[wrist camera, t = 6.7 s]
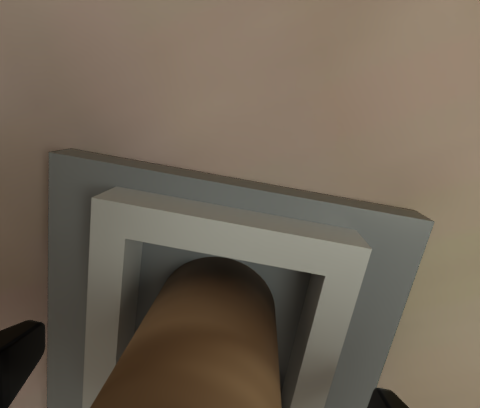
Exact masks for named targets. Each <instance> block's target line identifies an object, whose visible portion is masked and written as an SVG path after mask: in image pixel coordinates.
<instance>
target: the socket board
mask: <svg viewBox="0 0 480 408" xmlns="http://www.w3.org/2000/svg"><path fill="white" fill-rule="evenodd" d="M433 224H434V221H432V220H431V219H429V218H427V217H426V216H424V215H422V214H421V213H419V212H417V211H415V210H409V209H404V208H398V207H393V206H387V205H381V204H376V203H370V202H365V201H359V200H354V199H348V198H343V197H337V196H331V195H326V194H320V193H315V192H309V191H304V190H298V189H293V188H287V187H281V186H276V185H270V184H265V183H259V182H254V181H248V180H243V179H237V178H231V177H226V176H220V175H215V174H209V173H204V172H198V171H193V170H187V169H182V168H176V167H170V166H165V165H159V164H154V163H148V162H143V161H137V160H132V159H126V158H120V157H115V156H109V155H104V154H98V153H93V152H87V151H82V150H76V149H66V150H59V151H53V152H49V208H48V350H47V408H90V407H91V405H92V404H93V402H94V400H95V399H96V397H97V395H98V394H99V392H100V390H101V389H102V387H103V385H104V384H105V382H106V380H107V379H108V377H109V375H110V374H111V372H112V370H113V369H114V367H115V365H116V364H117V362H118V360H119V359H120V357H121V355H122V354H123V352H124V350H125V349H126V347H127V346H128V344H129V342H130V341H131V339H132V337H133V336H134V334H135V332H136V331H137V329H138V327H139V326H140V324H141V322H142V321H143V319H144V317H145V316H146V314H147V312H148V311H149V309H150V307H151V306H152V304H153V302H154V301H155V299H156V297H157V296H158V294H159V292H160V291H161V289H162V287H163V286H164V284H165V282H166V281H167V279H168V278H169V277H170V275H171V274H172V273H173V272H174V271H175V270H176V269H178V268H179V267H180V266H182V265H184V264H186V263H187V262H190V261H192V260H195V259H199V258H204V257H223V258H229V259H233V260H236V261H238V262H241V263H243V264H245V265H247V266H248V267H250V268H251V269H253V270H254V271H255V272H256V273H257V274H259V275H260V276H261V278H262V279H263V280H264V281H265V282H266V284H267V285H268V287H269V289H270V291H271V293H272V296H273V299H274V303H275V313H276V328H277V343H278V359H279V374H280V390H281V405H282V408H367V406H368V404H369V401H370V398H371V395H372V392H373V390H374V389H375V388H376V387H377V384H378V381H379V378H380V375H381V373H382V370H383V367H384V364H385V361H386V358H387V355H388V353H389V350H390V347H391V344H392V341H393V338H394V336H395V333H396V330H397V327H398V324H399V321H400V318H401V316H402V313H403V310H404V307H405V304H406V301H407V298H408V296H409V293H410V290H411V287H412V284H413V281H414V279H415V276H416V273H417V270H418V267H419V264H420V261H421V259H422V256H423V253H424V250H425V247H426V244H427V242H428V239H429V236H430V233H431V230H432V227H433Z"/></svg>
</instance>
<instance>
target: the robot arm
mask: <svg viewBox="0 0 480 408" xmlns="http://www.w3.org/2000/svg"><path fill="white" fill-rule="evenodd" d="M44 350H45V325H44V323H42V322H38V321H33V320H27V321H24V322H21V323H19V324H16V325H14V326H11V327H9V328H6V329H4V330H1V331H0V408H8V407H9V406H10V404H11V403H12V401H13V400H14V398H15V397H16V395H17V394H18V392H19V391H20V389H21V388H22V386H23V385H24V383H25V382H26V380H27V379H28V377H29V376H30V374H31V372H32V371H33V369H34V368H35V366H36V365H37V363H38V362H39V360H40V359H41V357H42V355H43V353H44ZM367 408H409V407H408V406H407V405H406V404H405V403H404V402H403V401H402V400H401V399H400V398H399V397H398V396H397V395H396V394H395V393H393V392H392V391H391V390H387V389H382V388H375V389H374V390H373V392H372V395H371V398H370V401H369V404H368V406H367Z"/></svg>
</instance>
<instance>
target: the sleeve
mask: <svg viewBox="0 0 480 408" xmlns="http://www.w3.org/2000/svg"><path fill="white" fill-rule="evenodd" d="M90 408H282V405H281V390H280V374H279V359H278V343H277V328H276V313H275V303H274V299H273V296H272V293H271V291H270V289H269V287H268V285H267V284H266V282H265V281H264V280H263V279H262V278H261V276H260V275H259V274H257V273H256V272H255V271H254V270H253V269H251V268H250V267H248V266H247V265H245V264H243V263H241V262H238V261H236V260H233V259H229V258H223V257H204V258H199V259H195V260H192V261H190V262H187V263H186V264H184V265H182V266H180V267H179V268H178V269H176V270H175V271H174V272H173V273H172V274H171V275H170V277H169V278H168V279H167V281H166V282H165V284H164V286H163V287H162V289H161V291H160V292H159V294H158V296H157V297H156V299H155V301H154V302H153V304H152V306H151V307H150V309H149V311H148V312H147V314H146V316H145V317H144V319H143V321H142V322H141V324H140V326H139V327H138V329H137V331H136V332H135V334H134V336H133V337H132V339H131V341H130V342H129V344H128V346H127V347H126V349H125V350H124V352H123V354H122V355H121V357H120V359H119V360H118V362H117V364H116V365H115V367H114V369H113V370H112V372H111V374H110V375H109V377H108V379H107V380H106V382H105V384H104V385H103V387H102V389H101V390H100V392H99V394H98V395H97V397H96V399H95V400H94V402H93V404H92V405H91V407H90Z"/></svg>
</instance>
